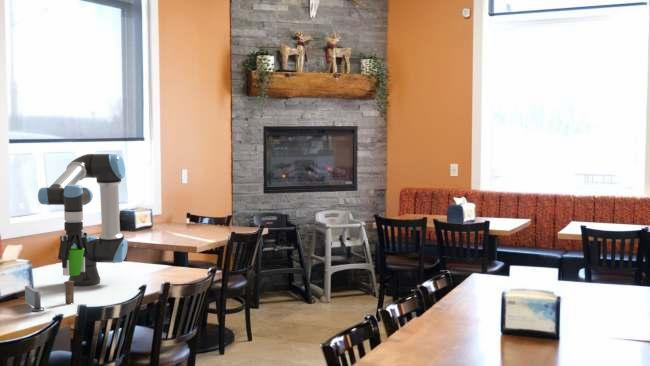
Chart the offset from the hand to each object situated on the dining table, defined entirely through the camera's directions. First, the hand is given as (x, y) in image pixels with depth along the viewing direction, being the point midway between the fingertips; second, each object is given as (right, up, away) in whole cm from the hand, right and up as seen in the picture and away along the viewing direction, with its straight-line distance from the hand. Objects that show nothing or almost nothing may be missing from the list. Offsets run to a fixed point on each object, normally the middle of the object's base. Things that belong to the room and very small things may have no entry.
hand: (74, 273), depth 331 cm
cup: (0, -1, 0) cm, 1 cm away
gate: (-18, -14, +1) cm, 23 cm away
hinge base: (-14, -15, -5) cm, 21 cm away
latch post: (-5, -14, +8) cm, 17 cm away
